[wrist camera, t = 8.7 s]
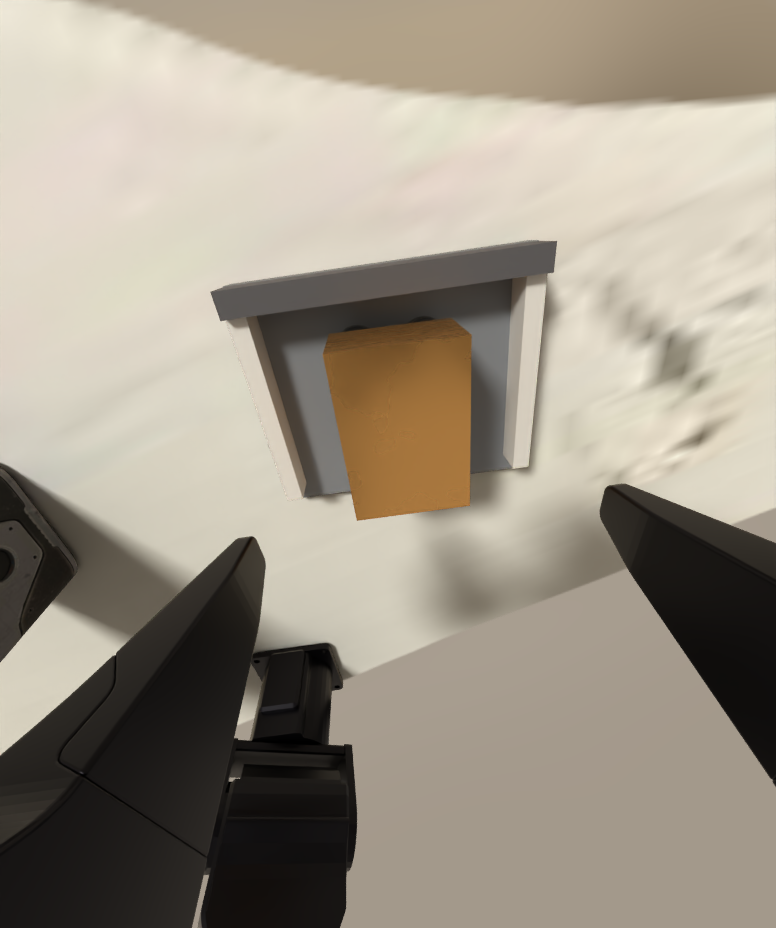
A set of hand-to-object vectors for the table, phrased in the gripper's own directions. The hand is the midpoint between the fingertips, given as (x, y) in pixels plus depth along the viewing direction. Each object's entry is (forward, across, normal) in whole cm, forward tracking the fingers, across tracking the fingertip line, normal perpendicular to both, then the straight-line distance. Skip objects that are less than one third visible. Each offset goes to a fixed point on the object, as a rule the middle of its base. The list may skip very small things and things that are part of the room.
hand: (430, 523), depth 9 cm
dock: (+11, 0, 0) cm, 11 cm away
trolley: (+10, 0, 0) cm, 10 cm away
